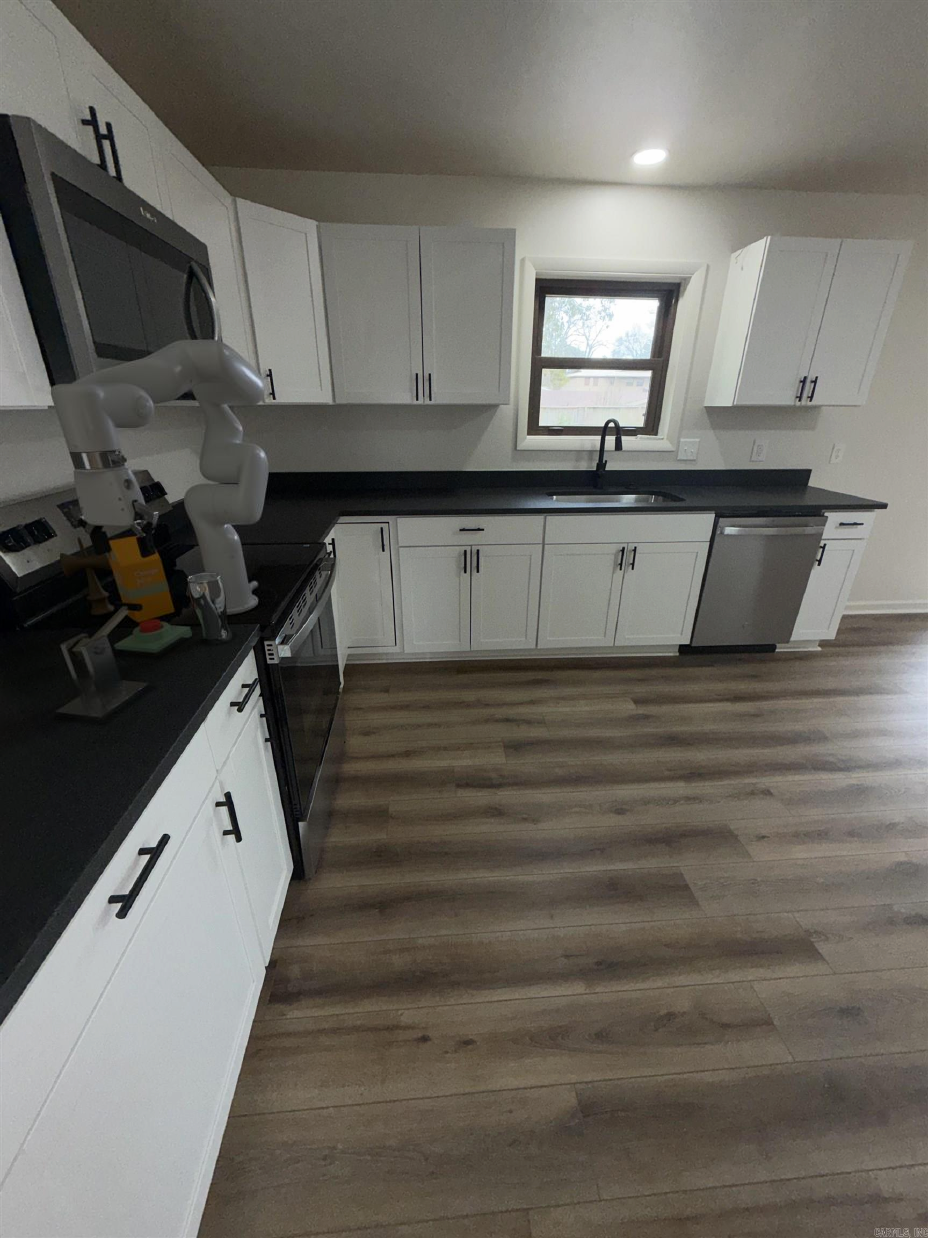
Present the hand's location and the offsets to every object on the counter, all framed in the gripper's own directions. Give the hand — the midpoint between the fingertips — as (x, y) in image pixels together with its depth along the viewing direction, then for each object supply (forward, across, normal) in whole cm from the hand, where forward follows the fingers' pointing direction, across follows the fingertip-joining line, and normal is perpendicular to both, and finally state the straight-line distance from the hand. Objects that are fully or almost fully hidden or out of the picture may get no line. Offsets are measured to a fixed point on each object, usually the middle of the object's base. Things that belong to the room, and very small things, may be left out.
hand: (126, 554), depth 94 cm
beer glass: (+24, -6, -12) cm, 27 cm away
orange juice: (+24, +20, -22) cm, 38 cm away
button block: (+23, +6, -7) cm, 25 cm away
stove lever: (+12, -2, +10) cm, 16 cm away
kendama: (+24, +32, -20) cm, 44 cm away
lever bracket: (+23, -2, +15) cm, 28 cm away
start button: (+20, +6, -7) cm, 22 cm away
